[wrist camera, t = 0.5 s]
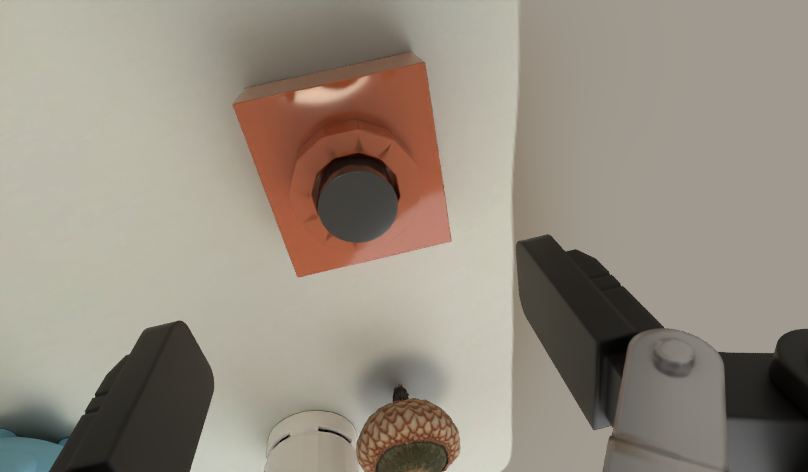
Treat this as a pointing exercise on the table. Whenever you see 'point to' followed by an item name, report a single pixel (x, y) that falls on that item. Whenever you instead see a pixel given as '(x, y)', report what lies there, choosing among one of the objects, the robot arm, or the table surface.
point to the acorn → (408, 437)
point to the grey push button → (357, 200)
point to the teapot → (27, 453)
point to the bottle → (312, 444)
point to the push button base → (347, 154)
